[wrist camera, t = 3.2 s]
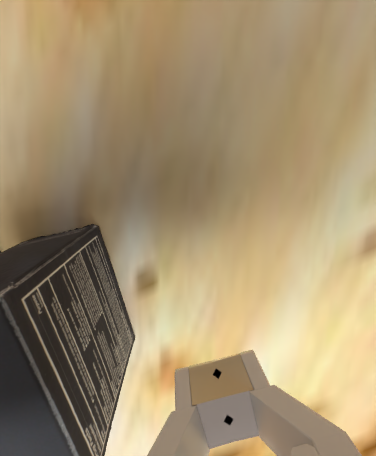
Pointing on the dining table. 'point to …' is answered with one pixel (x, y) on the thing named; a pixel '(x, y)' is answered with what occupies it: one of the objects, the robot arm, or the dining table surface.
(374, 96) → the dining table surface
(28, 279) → the small box
